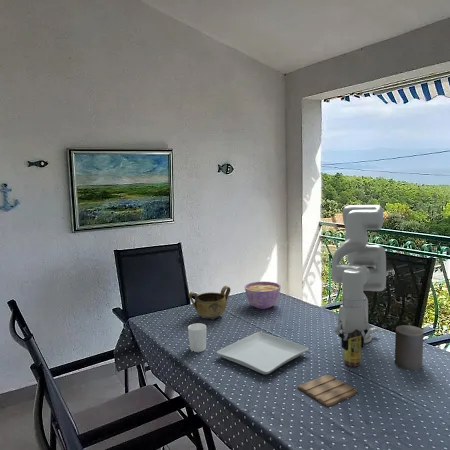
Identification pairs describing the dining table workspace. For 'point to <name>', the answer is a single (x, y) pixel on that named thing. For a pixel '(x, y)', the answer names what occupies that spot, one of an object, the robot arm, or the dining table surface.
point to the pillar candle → (409, 347)
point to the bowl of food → (262, 294)
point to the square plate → (262, 352)
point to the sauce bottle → (353, 349)
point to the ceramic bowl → (210, 303)
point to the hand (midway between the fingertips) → (352, 347)
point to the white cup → (197, 337)
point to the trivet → (328, 390)
